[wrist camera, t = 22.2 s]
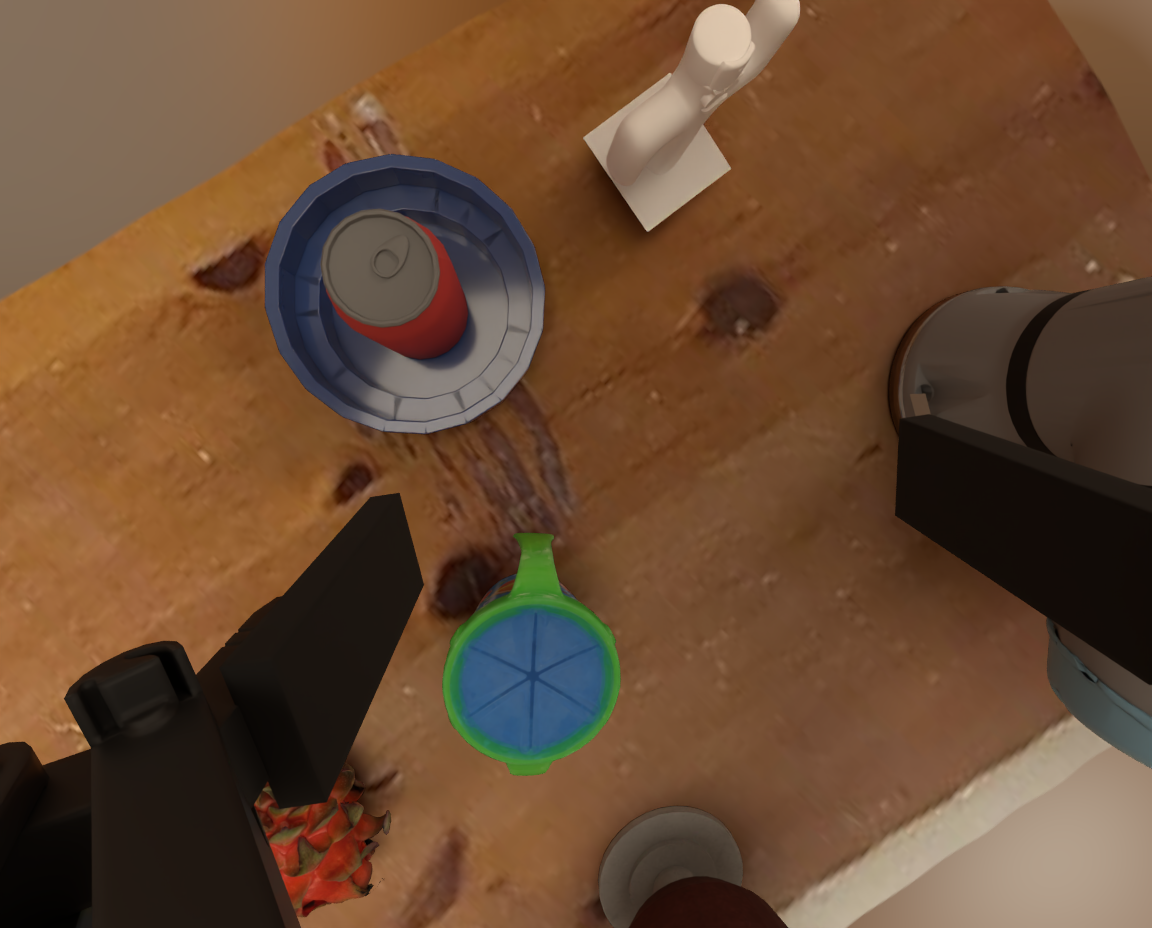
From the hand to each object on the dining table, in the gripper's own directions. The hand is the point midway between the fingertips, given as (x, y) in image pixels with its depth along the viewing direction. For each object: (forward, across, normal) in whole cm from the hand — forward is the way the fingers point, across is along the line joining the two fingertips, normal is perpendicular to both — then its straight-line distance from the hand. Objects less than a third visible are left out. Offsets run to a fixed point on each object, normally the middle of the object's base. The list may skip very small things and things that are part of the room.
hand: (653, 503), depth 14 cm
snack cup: (+23, -8, -18) cm, 30 cm away
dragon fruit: (+19, -24, -28) cm, 42 cm away
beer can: (+27, -11, +5) cm, 29 cm away
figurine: (+31, +6, +12) cm, 34 cm away
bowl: (+27, -11, +5) cm, 30 cm away
